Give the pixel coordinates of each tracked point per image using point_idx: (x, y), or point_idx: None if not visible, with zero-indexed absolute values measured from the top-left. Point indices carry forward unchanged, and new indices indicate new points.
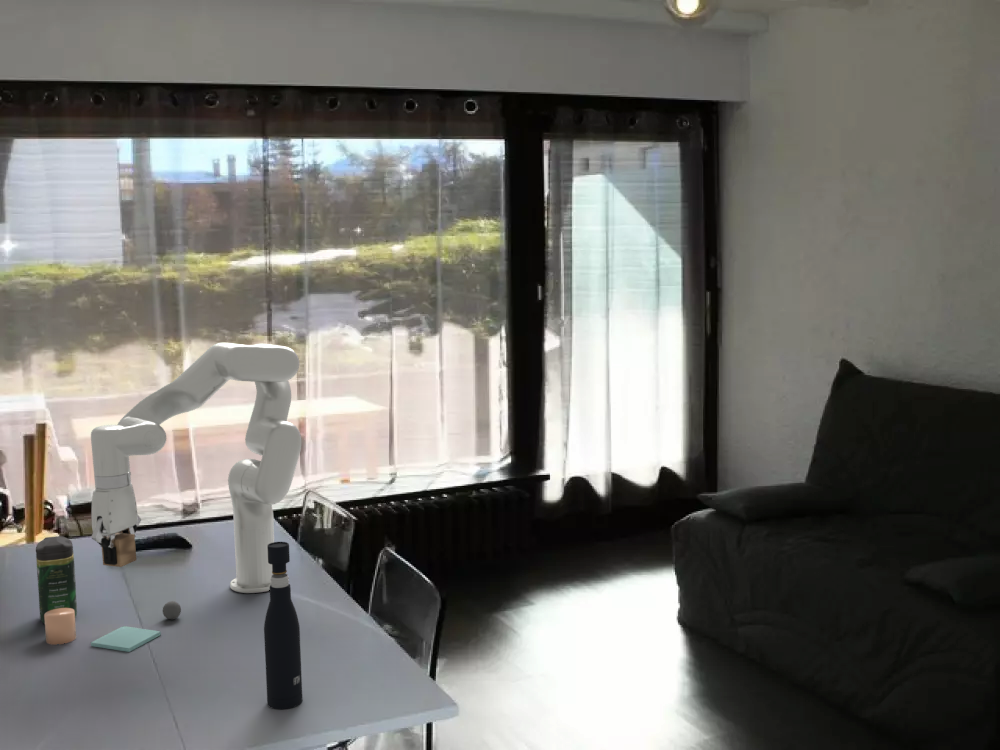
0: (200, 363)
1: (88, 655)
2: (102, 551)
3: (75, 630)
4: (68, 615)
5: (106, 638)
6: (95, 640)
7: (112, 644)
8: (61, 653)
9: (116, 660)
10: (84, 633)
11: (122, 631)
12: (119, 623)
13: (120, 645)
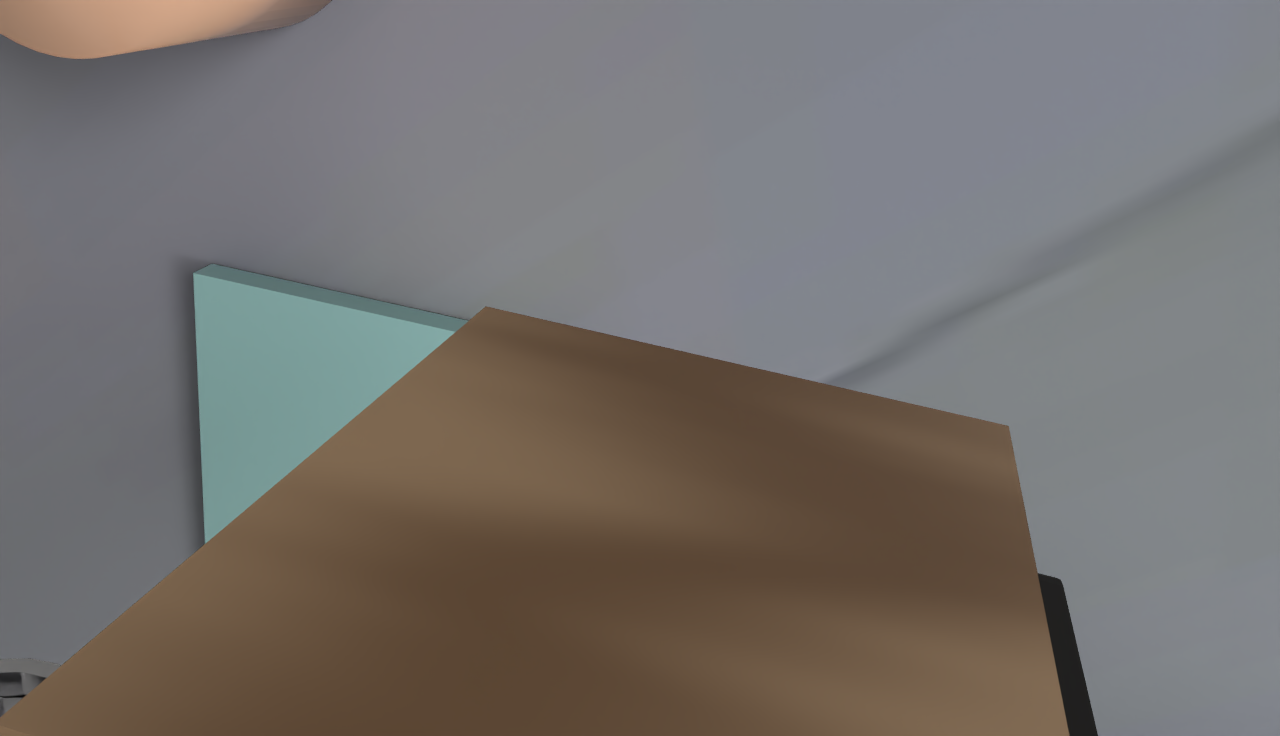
0: None
1: (77, 337)
2: (316, 467)
3: (268, 23)
4: (34, 48)
5: (297, 356)
6: (236, 288)
7: (219, 458)
8: (21, 105)
9: (92, 556)
10: (422, 29)
11: None
12: (724, 229)
13: (225, 520)
